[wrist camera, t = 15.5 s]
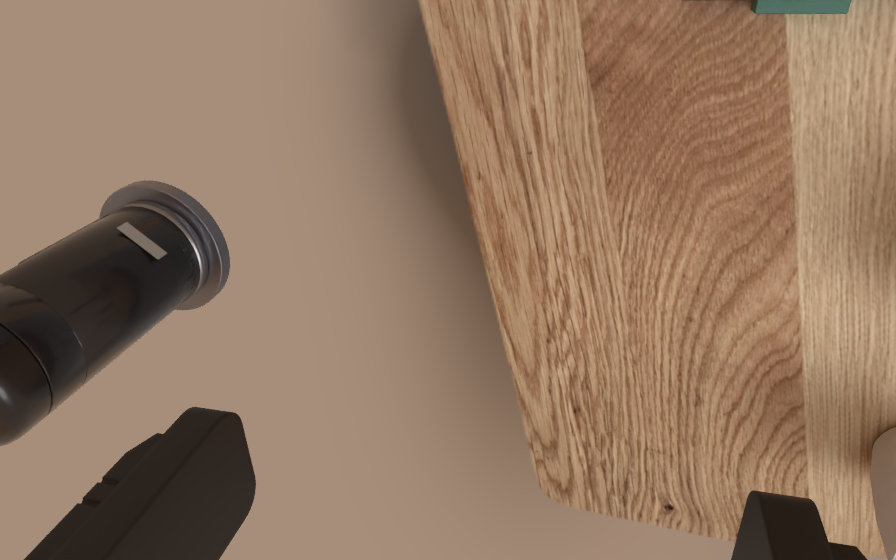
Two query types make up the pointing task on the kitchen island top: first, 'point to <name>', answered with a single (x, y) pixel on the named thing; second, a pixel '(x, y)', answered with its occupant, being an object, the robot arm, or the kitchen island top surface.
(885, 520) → the cup
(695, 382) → the kitchen island top surface
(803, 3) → the scale
